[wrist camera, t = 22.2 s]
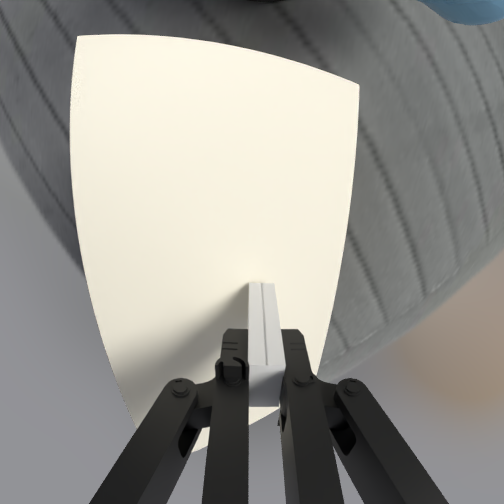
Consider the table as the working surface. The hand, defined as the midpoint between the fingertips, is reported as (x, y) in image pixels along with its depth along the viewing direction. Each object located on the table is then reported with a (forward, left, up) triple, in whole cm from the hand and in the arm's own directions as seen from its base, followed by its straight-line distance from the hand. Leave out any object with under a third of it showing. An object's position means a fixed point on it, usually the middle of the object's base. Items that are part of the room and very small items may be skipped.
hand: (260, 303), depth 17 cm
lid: (+1, 0, -1) cm, 2 cm away
